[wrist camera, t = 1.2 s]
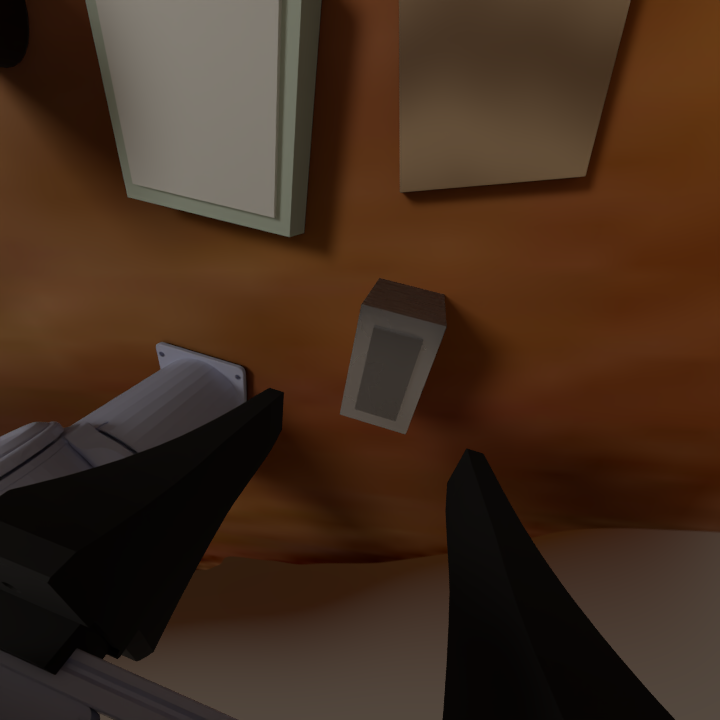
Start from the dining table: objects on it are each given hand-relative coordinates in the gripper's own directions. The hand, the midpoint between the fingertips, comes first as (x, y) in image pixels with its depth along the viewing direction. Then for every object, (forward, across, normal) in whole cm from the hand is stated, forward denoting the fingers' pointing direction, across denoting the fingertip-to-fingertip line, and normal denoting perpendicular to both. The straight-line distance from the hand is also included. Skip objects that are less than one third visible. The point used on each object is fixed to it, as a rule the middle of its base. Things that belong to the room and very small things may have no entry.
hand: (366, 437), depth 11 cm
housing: (+10, 0, 0) cm, 10 cm away
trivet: (+9, -1, -13) cm, 16 cm away
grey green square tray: (+9, +12, -10) cm, 18 cm away
